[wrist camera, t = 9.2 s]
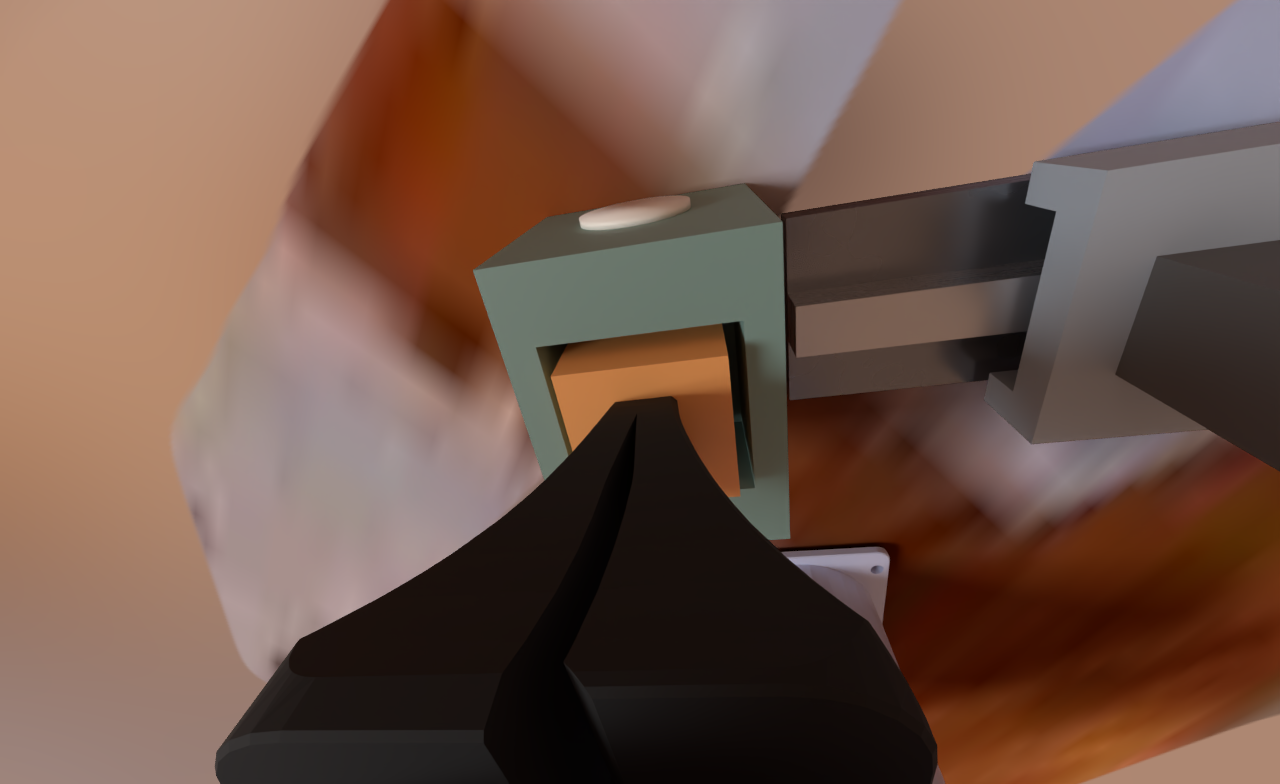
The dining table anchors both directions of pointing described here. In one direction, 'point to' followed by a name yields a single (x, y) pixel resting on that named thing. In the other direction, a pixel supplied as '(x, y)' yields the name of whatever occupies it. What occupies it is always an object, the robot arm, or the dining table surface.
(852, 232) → the rail
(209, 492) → the dining table surface
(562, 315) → the cabinet
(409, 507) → the dining table surface
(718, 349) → the button
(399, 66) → the dining table surface
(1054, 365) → the carriage
